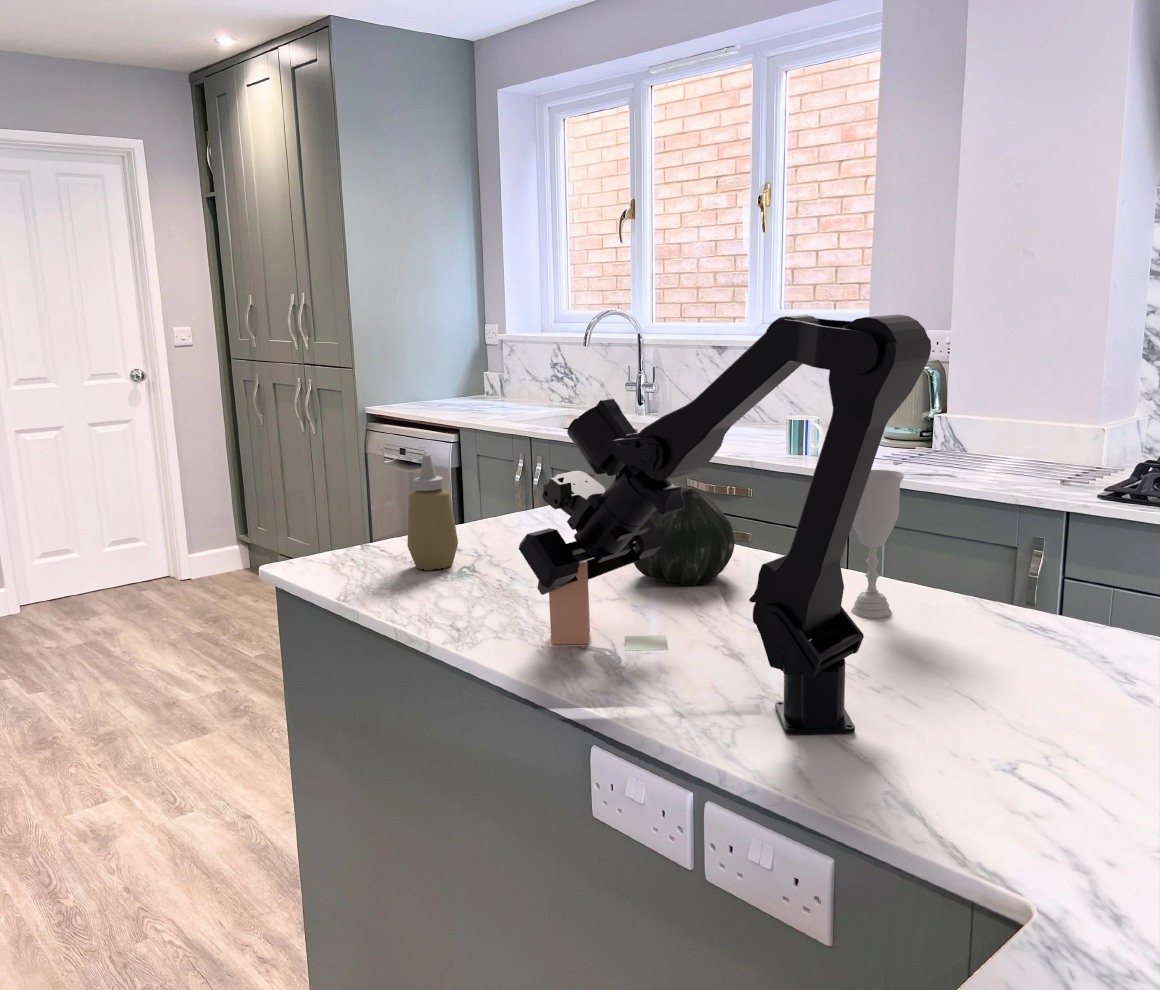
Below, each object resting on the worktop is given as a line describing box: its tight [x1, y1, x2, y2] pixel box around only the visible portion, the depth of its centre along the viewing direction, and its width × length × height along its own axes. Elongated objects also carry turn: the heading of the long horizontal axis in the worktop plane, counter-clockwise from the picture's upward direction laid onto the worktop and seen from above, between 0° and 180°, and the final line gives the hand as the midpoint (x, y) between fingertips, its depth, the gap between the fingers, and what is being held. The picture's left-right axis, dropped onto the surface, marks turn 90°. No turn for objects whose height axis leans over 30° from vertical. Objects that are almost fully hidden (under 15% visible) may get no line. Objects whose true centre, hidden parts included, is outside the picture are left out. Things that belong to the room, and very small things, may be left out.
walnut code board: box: [548, 630, 669, 652], centre depth 114 cm, size 8×14×1 cm, turn 88°
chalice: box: [850, 469, 905, 619], centre depth 122 cm, size 7×7×18 cm
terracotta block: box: [548, 561, 591, 645], centre depth 114 cm, size 4×4×10 cm
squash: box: [633, 486, 735, 587], centre depth 139 cm, size 14×15×15 cm
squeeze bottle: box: [407, 454, 459, 571], centre depth 152 cm, size 8×8×18 cm
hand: (560, 584), depth 115 cm, fingers closed on terracotta block, 6 cm apart
